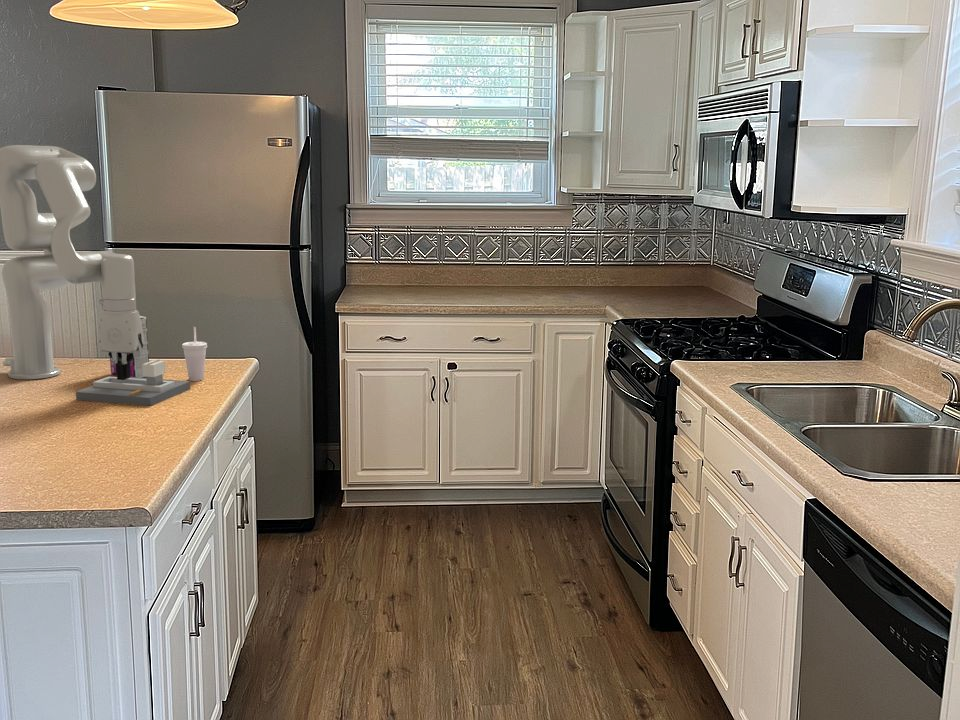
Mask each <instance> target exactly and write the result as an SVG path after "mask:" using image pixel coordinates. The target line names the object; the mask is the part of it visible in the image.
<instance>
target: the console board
mask: <svg viewBox="0 0 960 720" xmlns="http://www.w3.org/2000/svg"><path fill="white" fill-rule="evenodd" d="M92 383H93V385H91V386H89V387H85V388H82V389H80V390H77V391H75V399H76V401H83V400H84V401H85V402H97V403H107V404H108V403H109V404H110V403H111V404H119V403H121V404H122V405H131V404H134V405H133V406H143V405H144V407H152V406H155V405H157V404H159V403H161V402H164V401H166V400H169V399H171V398H172V397H175V396H177V395H180V394H182V393H184V392H186V391H189V390H191V381H190V380H189V381H188V380H179V379H163V384H162V385H159V386H155V385H147V378H139V377H130V378H128V379H125V380H118V379H117V376H107V377H106V376H105V377H103V378H101V379H98V380H96V381H93V382H92ZM121 404H120V405H121Z"/></svg>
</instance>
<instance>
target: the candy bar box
mask: <svg viewBox="0 0 960 720" xmlns="http://www.w3.org/2000/svg"><path fill="white" fill-rule="evenodd" d="M140 318H141V323H142V329H143V339H144V346H143V349H142V351H143V356H140V357H135V358H134V359H133V360H132V362H130V369H131V375H130V377H139V378H146V377H145V376H143V365H142V364H145V363H148V362H150V357H149V355H150V354H149V340H148V339H149V337H148V321H147V317H146V316H142V315H140ZM134 352H135V351H134ZM109 363H110V374H112V375H116V364H115V363H114V362H113V360H112V358H111V357H110V356H109Z"/></svg>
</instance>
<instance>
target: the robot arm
mask: <svg viewBox="0 0 960 720" xmlns="http://www.w3.org/2000/svg"><path fill="white" fill-rule="evenodd" d="M25 180H37V183H38V185H39V187H40V189H41V191H42V194H43V196H44V197H45V200H46V202H47V205H48V207H49V209H50V210H51V212H38V207H37V206H38V205H37V197H36V196H35V193H34V191H33V190H32V188H31V187H30V185H28V183H27V182H25ZM96 183H97V174H96V170H95V168H94V167H93V165H92V164H91V162H89V160H87V159H86V158H85V157H82V156H81V155H78V154H76V153H74V152H72V151H69V150H67V149H65V148H63V147H59V146H56V145H55V146H53V145H30V144H12V145H7V146H6V145H5V146H3V147H0V215H1V223H2V232H3V237H4V241H5V243H6V246H7V247H8V248H9V249H10V250H13V251H16V252H17V251H18V252H19V251H20V252H23V251H24V252H26V251H28V252H29V251H38V250H39V251H40V250H43V254H35V255H24V256H23V255H22V256H21V255H20V256H15V257H12V258H10V259H8V260H7V261H6V262H5V263H4V264H3V266H2V269H1V276H2V278H1V279H2V281H3V282H2V283H3V285H4V288H5V293H6V297H7V302H8V303H7V304H8V309H9V320H10V329H11V330H10V331H11V333H10V334H11V344H12V356H13V357H6V358H5V359H4V360H2V361H3V362H2V366H3V367H10V370H9V371H8V373H7V375H8V378H11V379H16V380H38V379H46V378H52V377H55V376H58V375H60V373H61V368H60V367H58V366H55V365H54V352H53V339H52V327H51V325H52V324H51V315H50V314H51V313H50V308H49V307H50V306H48V303H47V302H46V300H45V299H44V298H43V296H42V295H41V292H45V291H46V292H47V291H53V290H54V291H55V290H62V289H64V288H67V287H68V286H69V285H70V284H72V285H83V284H91V283H101V289H102V290H101V291H102V299H99V301H98V304H99V305H100V306H102V310H100V312H99V317H98V323H97V325H98V326H97V345H98V349H99V350H101V353H102V355H106V356H109V358H110V357H111V358H112V360H113V362H114V363H115V364H116V374H115V376H116V377H117V379H118V380H125V379H128V378H130V375H131V369H130V362H132V360H133V359H134V358H135V357H140V356H143V351H142V349H143V346H144V339H143V329H142V323H141V318H140V316H141V315H140V312H139V310H137V298H136V297H137V296H136V295H137V294H136V279H135V277H136V276H135V261H134V258H133V256H131V255H130V254H126V253H125V254H124V253H123V254H122V253H115V252H114V251H110V250H100V251H99V250H98V251H85V252H82V251H81V252H76V250H75V248H74V245H73V242H72V240H71V234H70V233H71V232H70V231H71V230H72V229H73V228H75V227H77V226H79V225H80V224H83V223H84V222H85V221H86V220H87V219H88V218H89V217H90V216H91V207H90V205H89V203H88V201H87V199H86V197H85V195H84V193H83V192H88V191H90V190H92V189H93V188H94V187H95V186H96ZM134 351H135V352H134Z"/></svg>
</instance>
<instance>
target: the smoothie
mask: <svg viewBox="0 0 960 720" xmlns="http://www.w3.org/2000/svg"><path fill="white" fill-rule="evenodd" d="M181 346H182V347H181V348H182V349H183V353H184V359H185V360H184V361H185V364H186V365H185V366H186V370H187V378H188V380H189V381H190V382H200V380H201V381H203V380H204V377H205V365H206V363H205V362H206V355H207V354H206V352H207V348H208V342H205V341H197V327H196V326H193V341H188V342H187V341H186V342H184V343H182V344H181Z"/></svg>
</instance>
